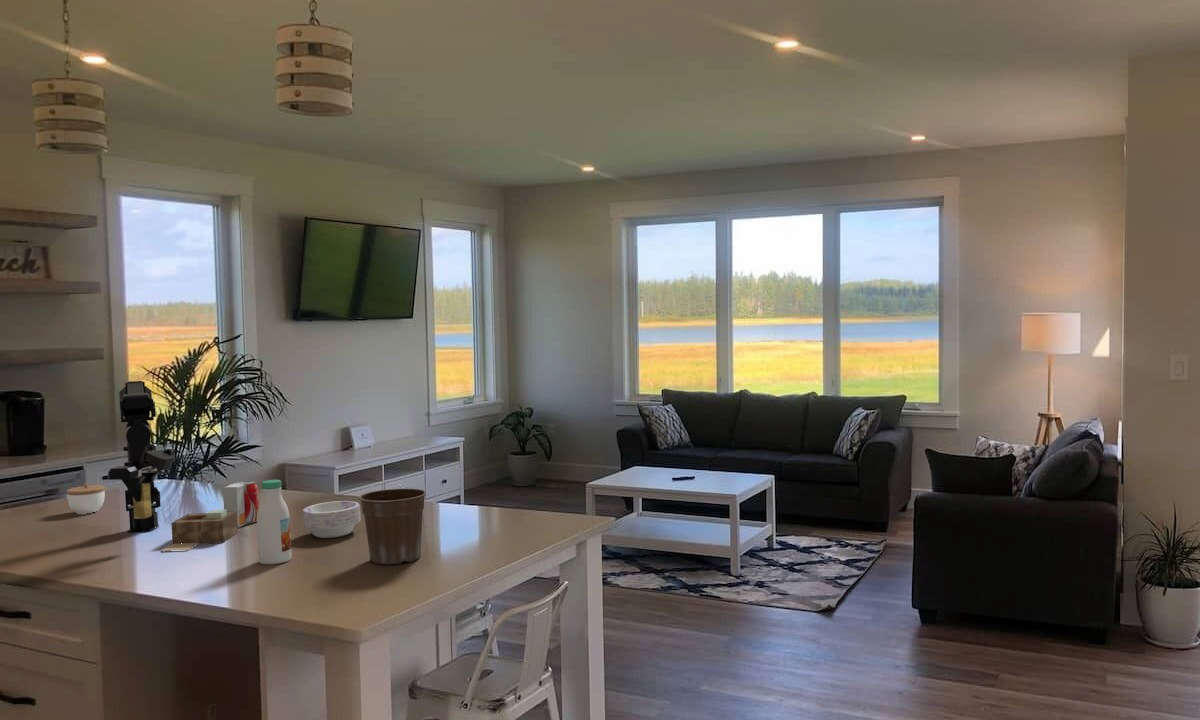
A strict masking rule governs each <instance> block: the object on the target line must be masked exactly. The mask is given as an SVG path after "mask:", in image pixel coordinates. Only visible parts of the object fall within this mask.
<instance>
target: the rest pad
mask: <svg viewBox="0 0 1200 720" xmlns="http://www.w3.org/2000/svg"><path fill="white" fill-rule="evenodd" d="M197 544H198V543H182V544H173V543H171V544H170V545H168V546H166V547H165V548H163V549H161V550H160V552H161V551H171V550H189V549H191V548H192V547H194V546H195V545H197ZM198 545H199V544H198ZM198 545H197V546H198ZM195 547H196V546H195ZM195 547H194V548H195ZM192 549H193V548H192ZM192 549H191V550H192ZM189 551H190V550H189Z"/></svg>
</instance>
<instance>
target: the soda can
mask: <svg viewBox="0 0 1200 720" xmlns="http://www.w3.org/2000/svg"><path fill="white" fill-rule="evenodd" d="M234 484H244V485H245V487H244V506H245V523H246V524H245V525H252V524H255V523H257V512H258V508H259V506H260V501H259V500H260V498H259V488H258V486H257V484H256V480H240V481H236V482H234ZM254 522H255V523H254ZM251 523H252V524H251Z"/></svg>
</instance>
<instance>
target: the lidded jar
mask: <svg viewBox="0 0 1200 720" xmlns="http://www.w3.org/2000/svg"><path fill="white" fill-rule="evenodd" d="M105 490H106V487H105V486H104V485H96V484H94V485H93V484H92V485H88V482H86V483H83V485H82V486H77V487H72V488H68V489H67V490H66V497H67V498H66V499H67V502H68V506H69V508H70V510H72V511H73V512H74V513H77V514H76V515H88V514H87V513H91V514H93V513H92V512H96V511H98V512H99V510H100V509H101V508H102V506H103V505H104V502H105V496H106V495H105V492H106V491H105ZM96 513H97V512H96Z"/></svg>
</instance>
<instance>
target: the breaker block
mask: <svg viewBox="0 0 1200 720" xmlns="http://www.w3.org/2000/svg"><path fill="white" fill-rule="evenodd" d="M206 513H207V512H202V513H186V514H185V515H183V516H181V517H180V518H177V519H175V520H174V521H172V522H171V539H172V544H181V543H206V544H219V543H218V542H224V543H225V541H226V540H227V541H229V540H230V539H232V538H233V537H234V536H235V535H237V534H238V533H237V532H238V528H237V513H236V512H227V516H225V517H224V518H217V519H207V517H206ZM236 533H237V534H236ZM233 535H234V536H233ZM232 536H233V537H232ZM229 538H230V539H229ZM227 541H226V542H227Z"/></svg>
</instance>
